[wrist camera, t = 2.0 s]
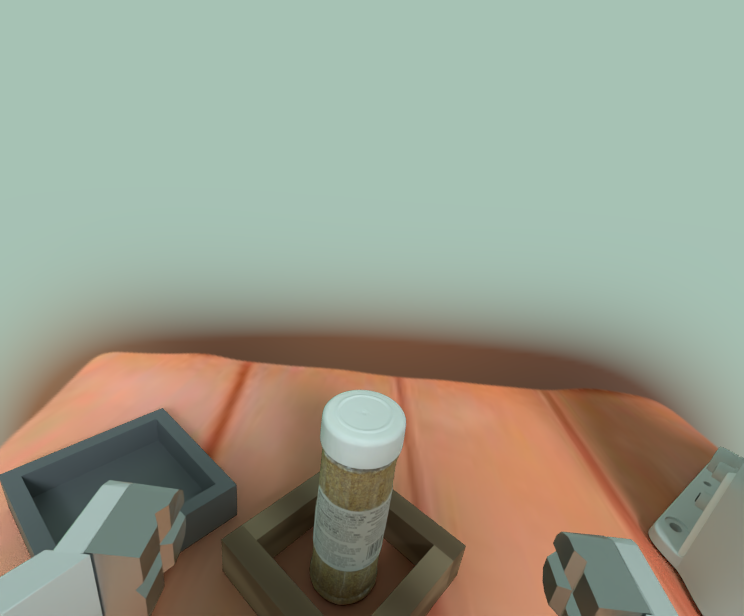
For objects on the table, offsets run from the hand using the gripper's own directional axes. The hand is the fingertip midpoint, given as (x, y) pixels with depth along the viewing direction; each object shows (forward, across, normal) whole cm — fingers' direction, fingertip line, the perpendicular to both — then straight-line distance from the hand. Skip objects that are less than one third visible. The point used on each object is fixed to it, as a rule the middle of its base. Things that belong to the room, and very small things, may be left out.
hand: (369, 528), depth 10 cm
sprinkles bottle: (+12, 0, +20) cm, 24 cm away
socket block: (+12, 0, +20) cm, 24 cm away
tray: (+15, +16, +20) cm, 30 cm away
